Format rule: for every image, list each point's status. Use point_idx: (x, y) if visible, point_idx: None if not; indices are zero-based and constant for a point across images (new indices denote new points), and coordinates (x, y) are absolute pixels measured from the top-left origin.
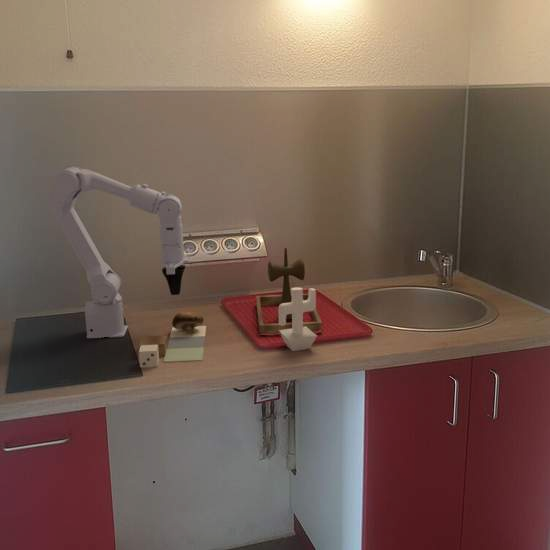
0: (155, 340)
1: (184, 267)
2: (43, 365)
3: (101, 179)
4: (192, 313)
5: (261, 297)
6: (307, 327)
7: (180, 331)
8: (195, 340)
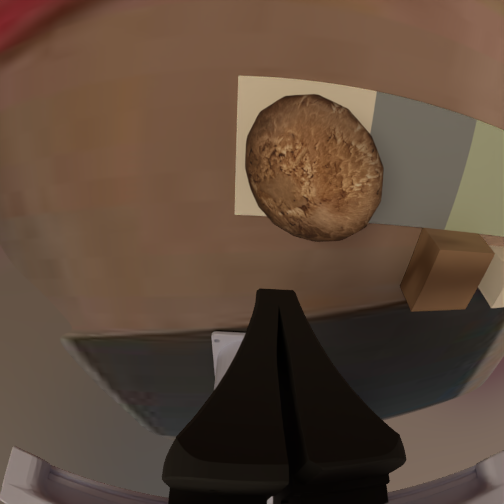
0: (460, 277)
1: (286, 479)
2: (393, 398)
3: None
4: (355, 164)
5: None
6: None
7: None
8: (412, 134)
